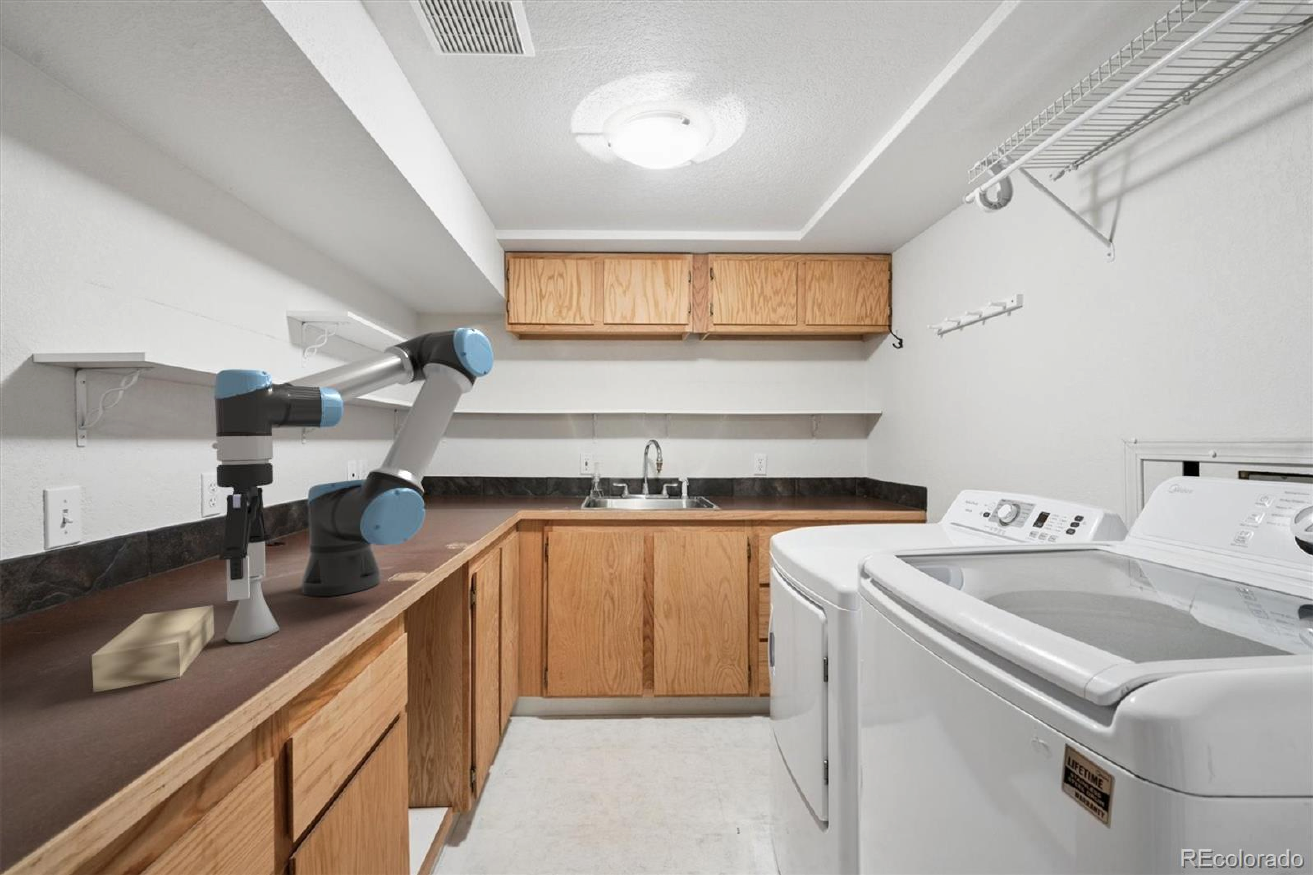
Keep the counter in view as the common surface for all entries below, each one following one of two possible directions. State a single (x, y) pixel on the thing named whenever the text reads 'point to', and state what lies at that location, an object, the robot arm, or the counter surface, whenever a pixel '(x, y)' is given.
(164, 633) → the block
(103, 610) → the counter surface
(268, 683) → the counter surface
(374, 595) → the counter surface
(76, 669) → the counter surface
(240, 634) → the flask
